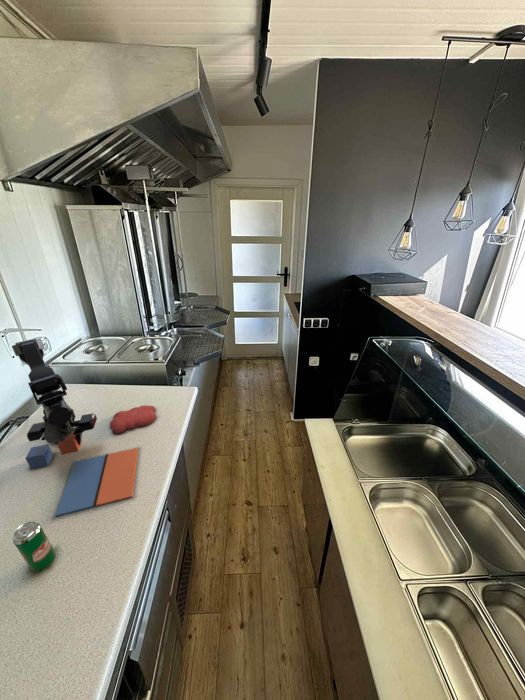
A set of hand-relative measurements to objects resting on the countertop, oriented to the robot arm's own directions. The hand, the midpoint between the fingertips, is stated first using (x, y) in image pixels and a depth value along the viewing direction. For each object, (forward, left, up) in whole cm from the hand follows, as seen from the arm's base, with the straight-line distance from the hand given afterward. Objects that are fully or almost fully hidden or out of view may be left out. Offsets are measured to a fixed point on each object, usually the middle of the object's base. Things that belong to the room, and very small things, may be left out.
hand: (71, 445), depth 98 cm
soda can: (+36, +2, -5) cm, 36 cm away
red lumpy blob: (-14, +18, -5) cm, 23 cm away
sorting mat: (+14, +11, -4) cm, 18 cm away
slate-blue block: (0, -10, -4) cm, 11 cm away
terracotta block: (0, 0, -1) cm, 1 cm away
